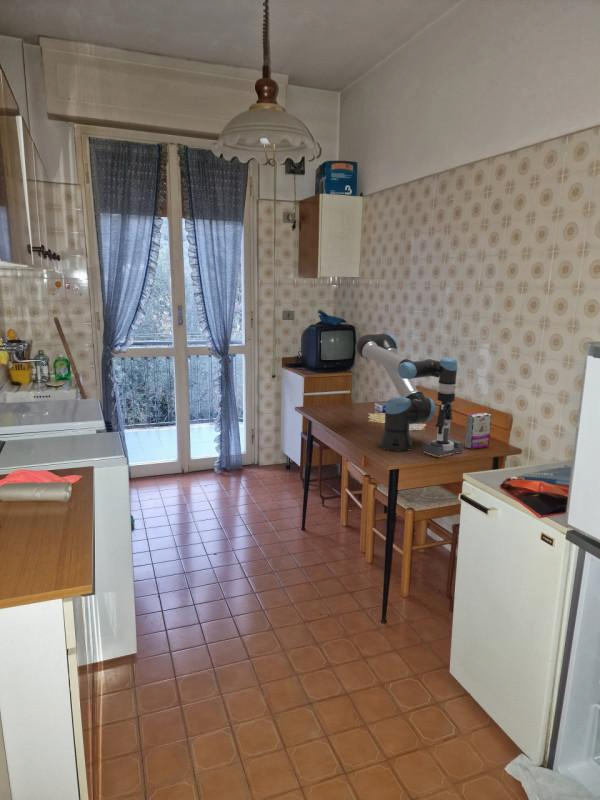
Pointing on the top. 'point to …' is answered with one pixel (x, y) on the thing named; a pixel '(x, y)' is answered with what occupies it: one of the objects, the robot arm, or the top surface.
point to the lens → (445, 434)
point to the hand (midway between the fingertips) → (443, 436)
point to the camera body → (442, 447)
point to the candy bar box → (477, 430)
